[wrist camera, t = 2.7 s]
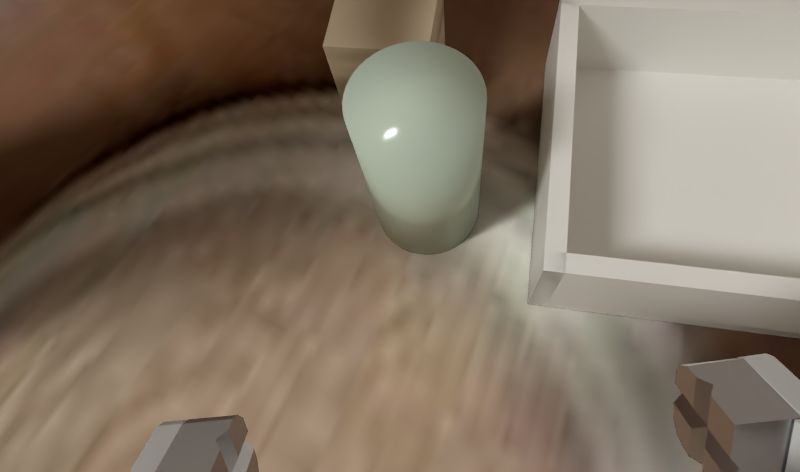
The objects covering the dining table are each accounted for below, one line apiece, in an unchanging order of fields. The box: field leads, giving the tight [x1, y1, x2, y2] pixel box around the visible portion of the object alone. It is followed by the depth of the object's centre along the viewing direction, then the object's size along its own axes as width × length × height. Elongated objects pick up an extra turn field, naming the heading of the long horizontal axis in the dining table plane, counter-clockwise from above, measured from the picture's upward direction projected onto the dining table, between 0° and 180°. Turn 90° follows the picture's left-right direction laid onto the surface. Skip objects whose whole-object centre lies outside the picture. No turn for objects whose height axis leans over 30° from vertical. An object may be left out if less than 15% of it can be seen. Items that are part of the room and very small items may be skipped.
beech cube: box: [323, 0, 445, 101], centre depth 27 cm, size 5×5×5 cm
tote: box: [527, 0, 800, 339], centre depth 23 cm, size 18×14×5 cm
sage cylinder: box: [342, 41, 487, 255], centre depth 22 cm, size 5×5×9 cm
